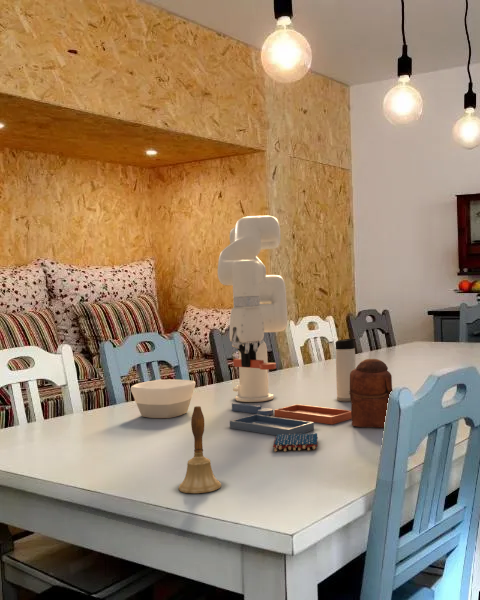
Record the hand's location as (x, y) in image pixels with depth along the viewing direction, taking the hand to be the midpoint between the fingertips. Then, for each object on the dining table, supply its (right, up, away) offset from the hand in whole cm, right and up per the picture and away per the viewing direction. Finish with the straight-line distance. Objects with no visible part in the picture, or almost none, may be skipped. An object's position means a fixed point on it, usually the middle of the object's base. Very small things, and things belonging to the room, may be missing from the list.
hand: (248, 366), depth 209 cm
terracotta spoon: (+2, 0, -1) cm, 2 cm away
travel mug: (+30, -13, +24) cm, 41 cm away
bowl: (-26, -16, +10) cm, 32 cm away
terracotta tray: (+19, -15, -2) cm, 24 cm away
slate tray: (+7, -15, -15) cm, 23 cm away
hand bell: (-5, -18, -67) cm, 69 cm away
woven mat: (+14, -16, -35) cm, 41 cm away
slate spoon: (0, -15, +9) cm, 17 cm away
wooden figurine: (+34, -15, -16) cm, 40 cm away
